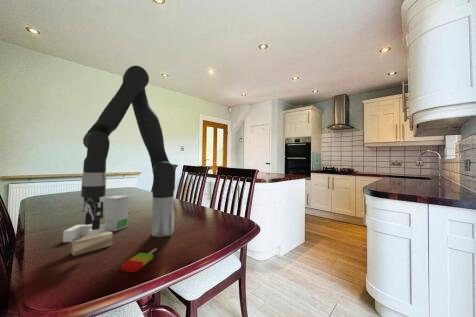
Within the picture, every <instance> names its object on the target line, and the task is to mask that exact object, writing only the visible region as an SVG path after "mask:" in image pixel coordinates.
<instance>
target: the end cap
mask: <svg viewBox="0 0 476 317" xmlns="http://www.w3.org/2000/svg"><path fill="white" fill-rule="evenodd" d="M106 231H107V230H106V224H105V223H100V228H99V229H98V230H92V224H90V225H85V224H75V225H73V226H72V227H69V228H67V229H65V230H63V231H62V232H63V234H62V235H63V236H62V242H63V243H72V239H76V238H81V237H85V236H89V235H93V234H98V233H102V232H106Z"/></svg>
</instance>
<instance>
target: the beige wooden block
mask: <svg viewBox="0 0 476 317" xmlns="http://www.w3.org/2000/svg"><path fill="white" fill-rule="evenodd" d="M113 234H114V233H113V231H107V230H106V232H102V233H98V234H93V235H89V236H81V237H79V238H76V239H72V242H71V254H72V256H79V255H81V254H82V255H83V254H85V253H90V252H94V251H96V250H97V251H98V250H100V249H103V248H107V247H111V246H113Z"/></svg>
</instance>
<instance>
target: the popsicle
mask: <svg viewBox="0 0 476 317" xmlns="http://www.w3.org/2000/svg"><path fill="white" fill-rule="evenodd" d="M157 249H158V248H153V249H152V250H151V251H149V252H147V253H145V252H139V253H137V254H136V255H134V256H133V257H131V258H130V259H129V260H127V261H125V262H124V263H123V264H122V265H121V271H123V272H129V273H134V272H138V271H139V270H141V269H142V268H144V266H145V265H146V264H148V263H149V262H151V261H152V260H153V259H154V254H153V253H155V251H157Z"/></svg>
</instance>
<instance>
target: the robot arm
mask: <svg viewBox="0 0 476 317" xmlns="http://www.w3.org/2000/svg"><path fill="white" fill-rule="evenodd" d="M149 82H150V77H149V73H148V71H147V70H146V69H145V68H144V67H142V66H140V65H132V66H129V67H128V68H127V69H126V70H125V73H123V77H122V84H121V85H120V87H119V89H117V91H116V93H115V94H114V95H113V97H112V98H111V100H110V101H109V102H108V103H107V105H106V106H105V108H104V109H103V110H102V112H101V114H100V115H99V116H98V118H97V120H96V121H95V123H93V125H92V126H91V127H90V128H89V130H87V131H86V133H85V134H84V136H83V139H82V143H83V145H84V147H85V148H86V157H85V158H84V161H83V169H82V171H83V172H82V177H81V188H80V189H81V190H80V193H81V194H80V196H81V198H83V210H82V212H83V214H84V215H85V216H84V225H91V224H92V230H98V229H99V228H100V224H101V219H103V218H104V202H103V201H101V200H100V199H101V198H103V197H105V196H106V191H107V190H106V188H107V174H106V173H107V172H106V170H107V159H108V155H109V152H110V143H111V142H110V138H109V137H110V135H111V134H112V133H113V132H115V130H117V128H118V127H119V126H120V124H121V122H122V121H123V119H124V117H125V115H126V114H127V111H128V110H129V108H130V106H132V109H133V114H134V116H135V120H136V123H137V127H138V130H139V133H140V136H141V138H142V142H143V144H144V146H145V149H146V150H147V153H148V156H149V159H150V160H149V161H150V164H151V165H150V166H151V171H152V174H153V176H152V177H153V178H152V179H153V180H152V181H153V182H152V183H153V184H152V186H153V187H152V198H151V199H152V205H151V208H152V209H151V236H152V237H155V238H162V237H163V238H164V237H168V236H173V233H174V232H175V210H174V204H175V203H174V202H175V201H174V199H175V198H174V197H175V195H174V194H175V191H176V190H175V189H176V188H175V187H176V169H175V166H174V165H173V163H171V162H170V161H169V157H168V155H167V153H166V149H165V140H164V134H163V133H164V132H163V128H162V126H161V122H160V119H159V117H158V115H157V114H156V113H157V112H155V110H154V109H153V107H152V106H151V104H150V102H149V100H148V96H147V91H146V87H147V86H148V85H149Z"/></svg>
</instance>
